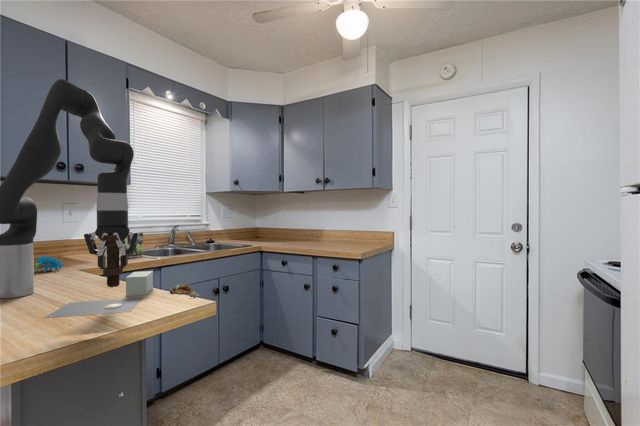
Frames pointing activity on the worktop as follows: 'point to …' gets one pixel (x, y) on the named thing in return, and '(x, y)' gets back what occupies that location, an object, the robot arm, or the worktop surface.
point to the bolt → (112, 260)
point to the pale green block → (139, 283)
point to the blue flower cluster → (48, 263)
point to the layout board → (95, 307)
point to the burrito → (184, 290)
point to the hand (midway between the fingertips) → (113, 268)
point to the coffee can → (139, 247)
